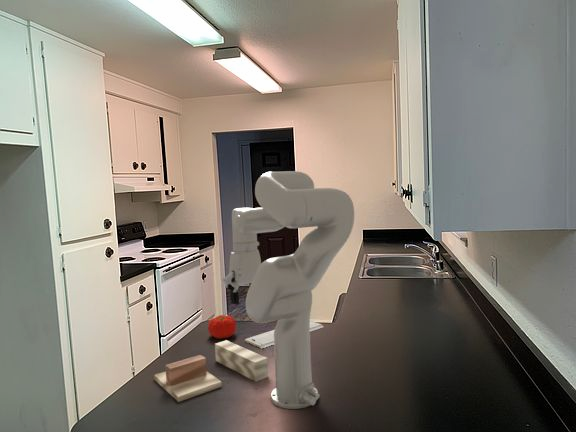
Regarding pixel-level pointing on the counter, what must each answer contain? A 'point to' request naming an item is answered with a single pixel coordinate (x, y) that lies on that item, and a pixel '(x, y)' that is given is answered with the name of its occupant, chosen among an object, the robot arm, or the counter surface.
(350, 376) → the counter surface
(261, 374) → the birch bar
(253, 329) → the counter surface
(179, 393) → the ridge stand
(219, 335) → the tomato
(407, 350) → the counter surface
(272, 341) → the baseboard molding
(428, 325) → the counter surface
